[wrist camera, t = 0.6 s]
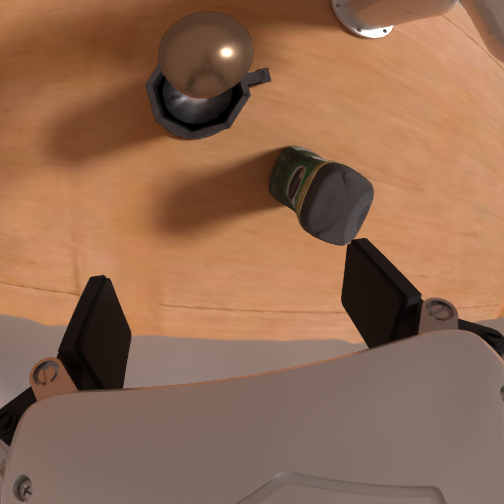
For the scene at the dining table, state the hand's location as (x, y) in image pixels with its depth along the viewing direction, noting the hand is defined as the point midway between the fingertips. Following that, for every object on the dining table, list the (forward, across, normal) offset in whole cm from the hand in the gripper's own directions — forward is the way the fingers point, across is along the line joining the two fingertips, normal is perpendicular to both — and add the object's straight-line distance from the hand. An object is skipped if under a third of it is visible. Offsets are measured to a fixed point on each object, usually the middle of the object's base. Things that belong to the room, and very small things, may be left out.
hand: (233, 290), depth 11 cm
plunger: (+24, +1, -8) cm, 25 cm away
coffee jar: (+37, -13, +6) cm, 40 cm away
